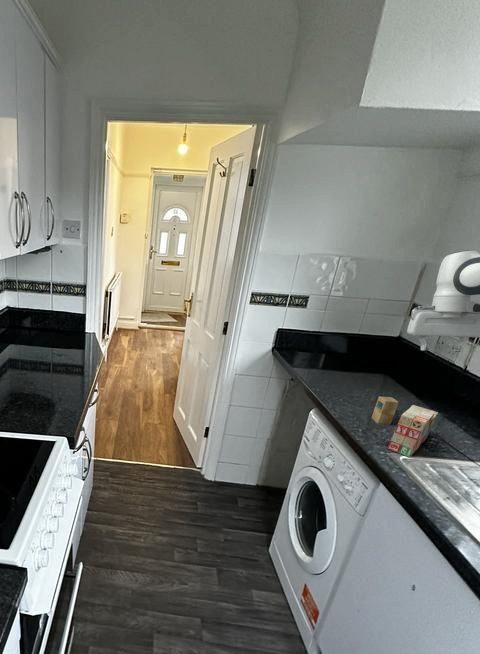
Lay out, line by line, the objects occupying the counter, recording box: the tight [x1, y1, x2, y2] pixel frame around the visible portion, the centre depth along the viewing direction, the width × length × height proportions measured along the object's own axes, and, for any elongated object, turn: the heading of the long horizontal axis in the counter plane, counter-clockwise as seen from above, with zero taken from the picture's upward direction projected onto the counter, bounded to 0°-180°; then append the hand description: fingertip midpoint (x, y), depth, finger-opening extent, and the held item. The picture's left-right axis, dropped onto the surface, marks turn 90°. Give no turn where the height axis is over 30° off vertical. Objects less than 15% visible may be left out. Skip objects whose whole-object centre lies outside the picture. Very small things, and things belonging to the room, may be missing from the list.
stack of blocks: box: [386, 404, 439, 458], centre depth 132 cm, size 21×6×12 cm, turn 131°
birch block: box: [370, 396, 400, 426], centre depth 147 cm, size 4×4×9 cm
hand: (440, 351), depth 131 cm, fingers open, 8 cm apart
